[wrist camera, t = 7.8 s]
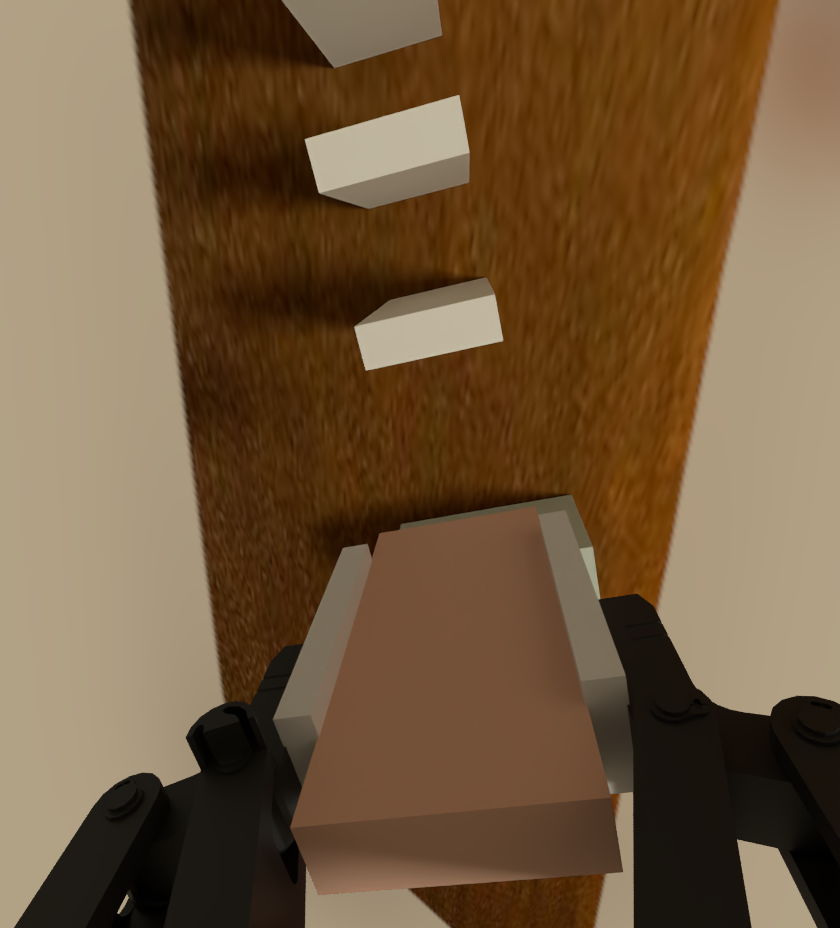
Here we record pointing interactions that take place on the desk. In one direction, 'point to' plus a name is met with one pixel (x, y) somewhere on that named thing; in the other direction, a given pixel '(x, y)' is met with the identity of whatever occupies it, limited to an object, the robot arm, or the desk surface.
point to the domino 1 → (365, 25)
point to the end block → (542, 508)
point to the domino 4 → (456, 723)
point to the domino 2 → (393, 155)
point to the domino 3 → (430, 324)
